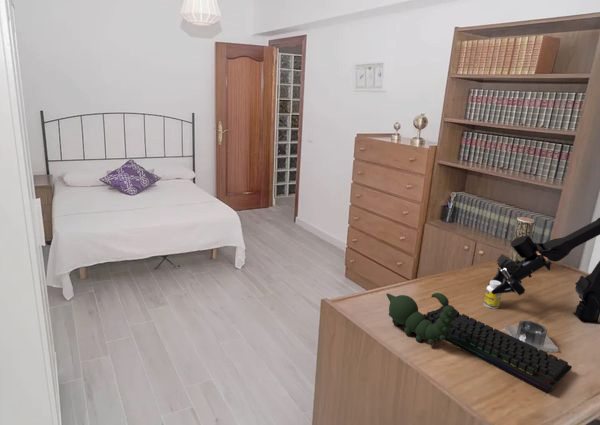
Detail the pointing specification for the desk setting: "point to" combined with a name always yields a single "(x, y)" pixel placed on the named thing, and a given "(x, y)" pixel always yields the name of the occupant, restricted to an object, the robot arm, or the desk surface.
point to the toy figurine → (421, 318)
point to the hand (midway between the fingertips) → (490, 289)
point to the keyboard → (504, 351)
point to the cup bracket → (532, 335)
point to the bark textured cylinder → (521, 234)
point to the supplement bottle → (492, 295)
